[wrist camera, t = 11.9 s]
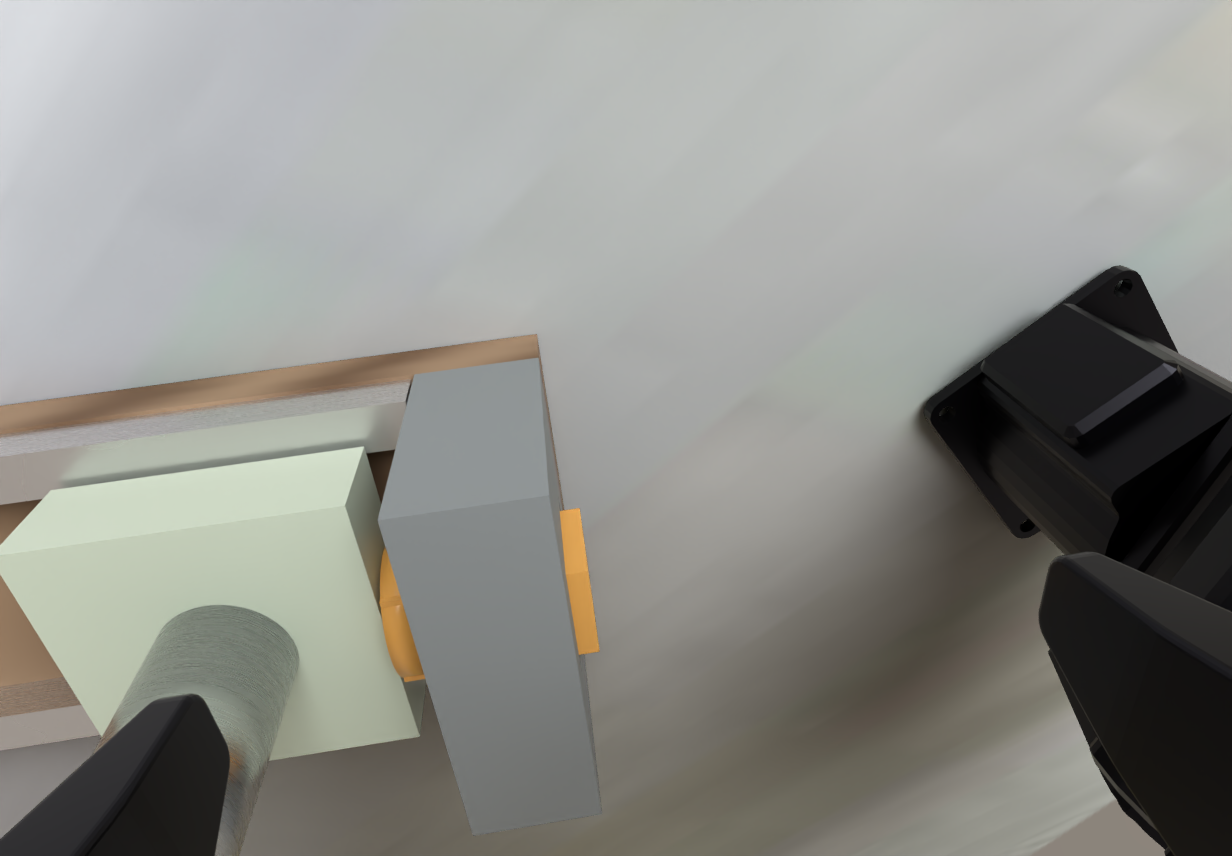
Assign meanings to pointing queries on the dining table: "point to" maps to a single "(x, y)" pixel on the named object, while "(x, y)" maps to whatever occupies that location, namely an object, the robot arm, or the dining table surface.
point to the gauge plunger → (578, 587)
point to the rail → (410, 526)
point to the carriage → (222, 607)
